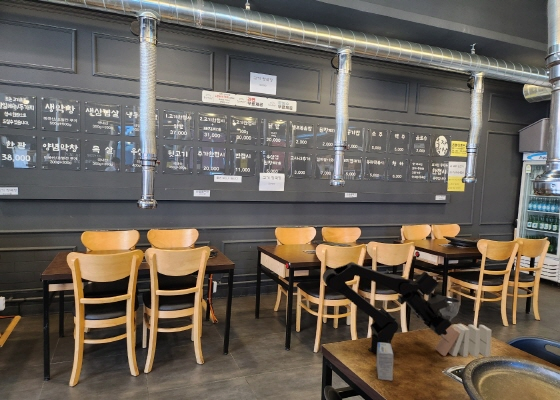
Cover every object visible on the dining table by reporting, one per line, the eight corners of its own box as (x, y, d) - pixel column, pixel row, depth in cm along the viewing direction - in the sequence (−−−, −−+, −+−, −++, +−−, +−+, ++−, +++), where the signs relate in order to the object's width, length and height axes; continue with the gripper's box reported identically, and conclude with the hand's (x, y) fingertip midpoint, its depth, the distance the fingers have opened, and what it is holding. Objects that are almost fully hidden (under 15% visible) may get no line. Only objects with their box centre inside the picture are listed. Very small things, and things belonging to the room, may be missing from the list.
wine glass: (461, 339, 144) (463, 302, 143) (441, 338, 144) (443, 301, 143) (452, 331, 152) (454, 296, 151) (433, 330, 152) (435, 295, 151)
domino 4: (474, 357, 128) (476, 329, 128) (466, 350, 133) (468, 324, 133) (478, 357, 128) (480, 329, 128) (470, 350, 133) (472, 324, 133)
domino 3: (463, 356, 128) (465, 329, 128) (455, 350, 133) (457, 324, 133) (467, 357, 128) (469, 329, 128) (459, 350, 133) (462, 324, 133)
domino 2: (452, 355, 128) (461, 329, 128) (445, 349, 133) (453, 324, 133) (456, 356, 128) (465, 330, 128) (449, 350, 133) (457, 325, 133)
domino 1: (441, 354, 128) (456, 330, 128) (434, 348, 133) (449, 325, 133) (445, 356, 128) (460, 333, 128) (438, 350, 133) (452, 327, 133)
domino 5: (485, 357, 128) (487, 330, 128) (477, 351, 133) (478, 324, 133) (490, 357, 129) (491, 330, 128) (481, 351, 134) (483, 324, 133)
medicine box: (392, 381, 109) (394, 354, 109) (377, 379, 110) (379, 352, 110) (389, 369, 117) (391, 343, 117) (375, 367, 118) (377, 341, 118)
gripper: (447, 296, 120) (477, 328, 121) (422, 281, 139) (448, 310, 139) (423, 319, 120) (453, 351, 121) (401, 301, 138) (427, 329, 139)
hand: (445, 333), depth 130 cm, fingers closed
